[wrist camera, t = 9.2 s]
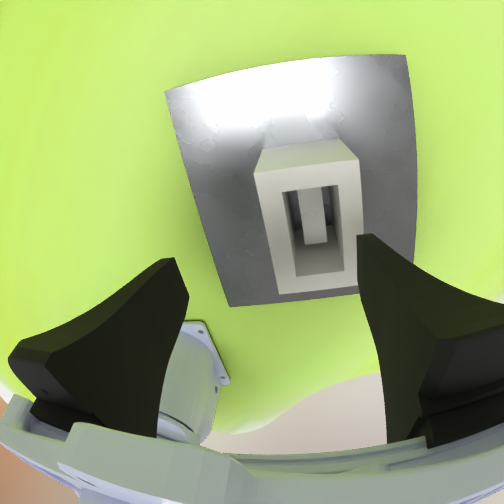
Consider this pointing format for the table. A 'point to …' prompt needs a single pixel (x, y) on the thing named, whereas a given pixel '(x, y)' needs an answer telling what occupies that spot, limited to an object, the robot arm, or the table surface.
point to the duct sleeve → (292, 241)
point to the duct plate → (292, 132)
